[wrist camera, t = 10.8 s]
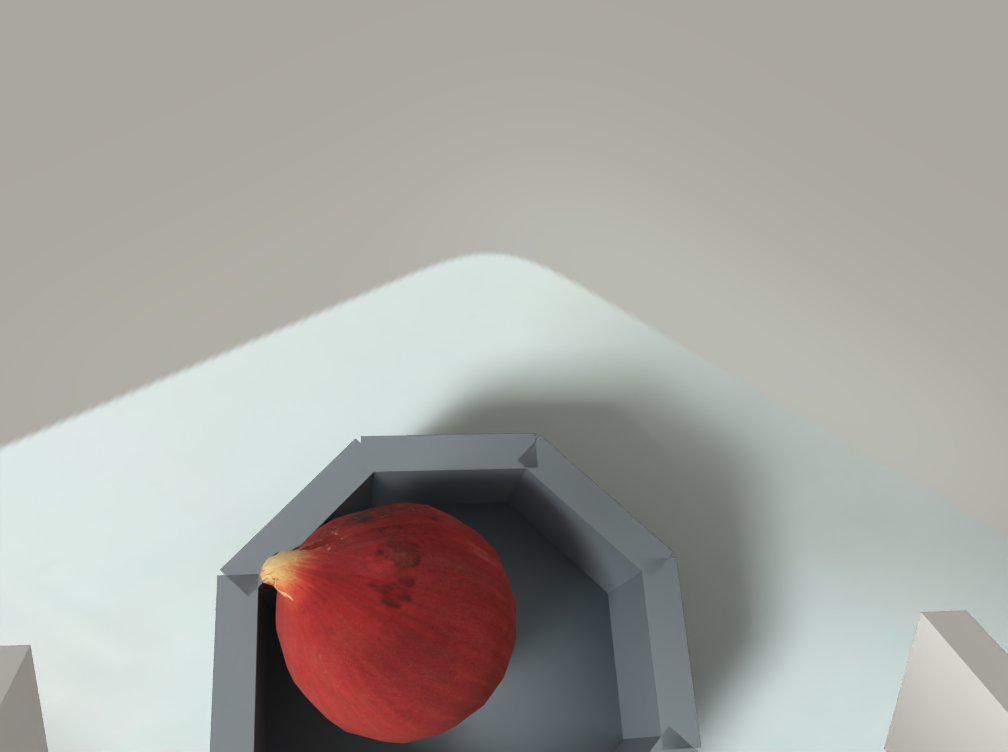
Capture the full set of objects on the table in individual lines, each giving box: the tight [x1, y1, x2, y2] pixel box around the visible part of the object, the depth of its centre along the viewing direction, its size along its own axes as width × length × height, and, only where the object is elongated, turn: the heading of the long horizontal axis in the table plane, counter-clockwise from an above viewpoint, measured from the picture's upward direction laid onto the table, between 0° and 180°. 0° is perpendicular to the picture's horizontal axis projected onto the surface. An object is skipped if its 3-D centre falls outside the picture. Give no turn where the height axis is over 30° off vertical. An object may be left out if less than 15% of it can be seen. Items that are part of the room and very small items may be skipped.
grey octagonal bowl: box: [210, 433, 701, 752], centre depth 26 cm, size 12×12×4 cm
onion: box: [260, 502, 516, 744], centre depth 24 cm, size 6×6×8 cm
